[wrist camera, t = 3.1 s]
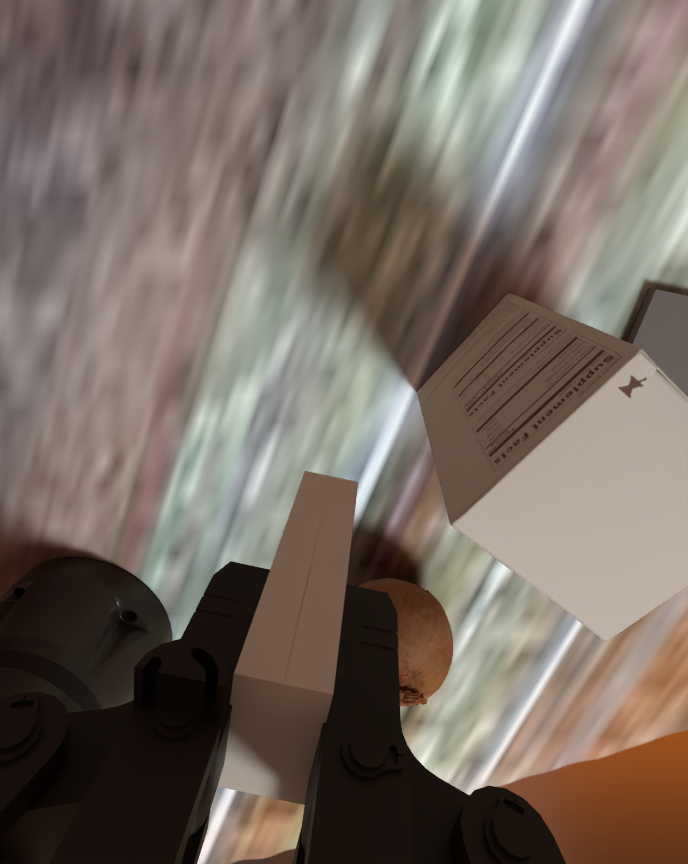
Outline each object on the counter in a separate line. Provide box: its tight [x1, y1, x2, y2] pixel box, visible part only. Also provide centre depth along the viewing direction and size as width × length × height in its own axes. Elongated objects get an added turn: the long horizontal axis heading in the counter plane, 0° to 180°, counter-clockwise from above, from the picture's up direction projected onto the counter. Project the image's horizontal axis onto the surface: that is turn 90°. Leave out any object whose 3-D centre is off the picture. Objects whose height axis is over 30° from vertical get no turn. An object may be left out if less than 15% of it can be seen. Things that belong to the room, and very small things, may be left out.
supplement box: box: [417, 293, 688, 640], centre depth 25 cm, size 10×9×17 cm
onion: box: [357, 578, 453, 707], centre depth 36 cm, size 10×9×10 cm
